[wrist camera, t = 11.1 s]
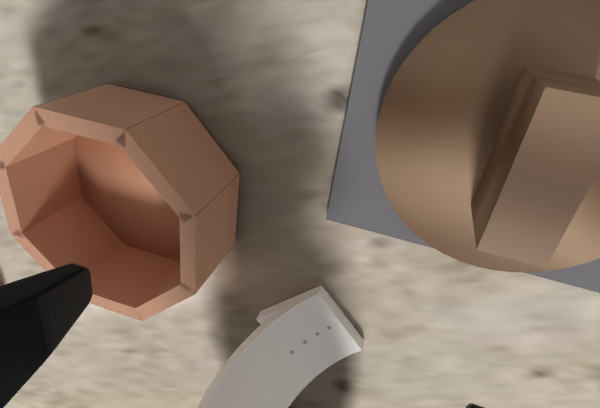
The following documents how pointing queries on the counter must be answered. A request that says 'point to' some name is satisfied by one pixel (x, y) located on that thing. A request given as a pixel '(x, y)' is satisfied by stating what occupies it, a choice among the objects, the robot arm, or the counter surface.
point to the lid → (499, 135)
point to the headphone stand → (284, 353)
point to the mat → (364, 116)
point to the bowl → (121, 195)
